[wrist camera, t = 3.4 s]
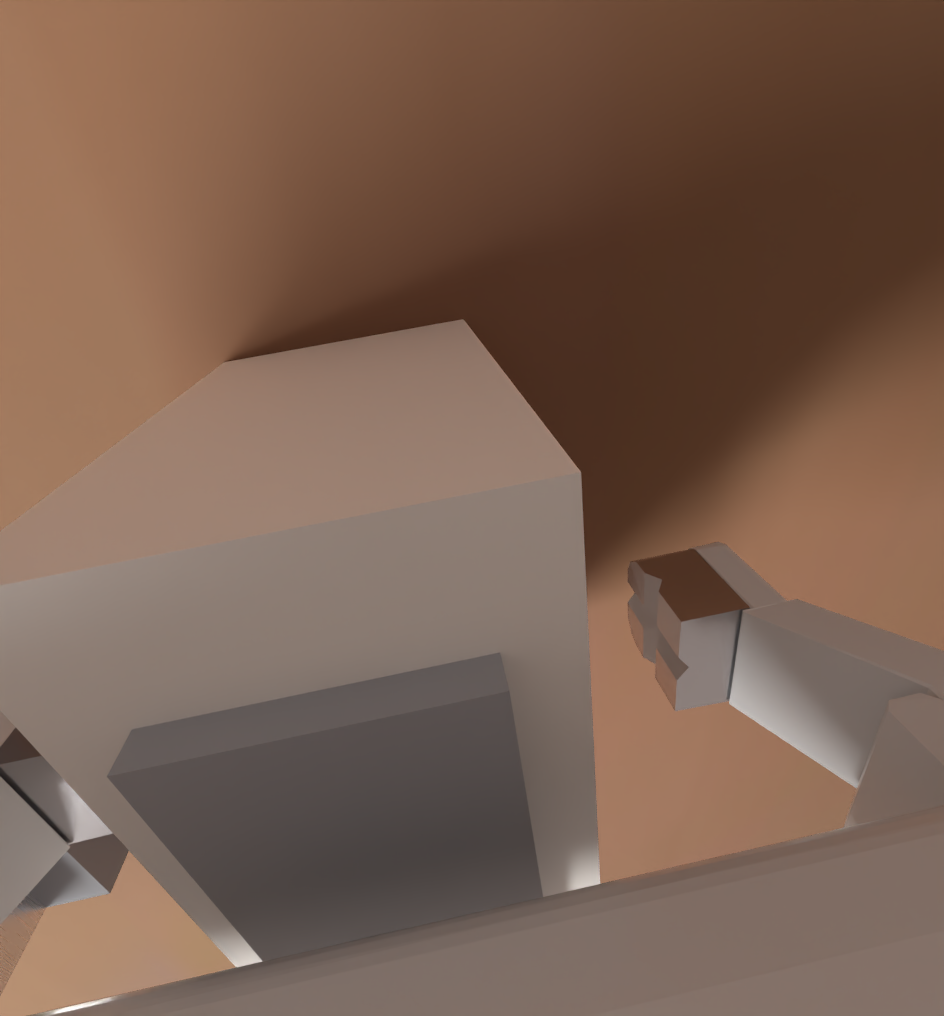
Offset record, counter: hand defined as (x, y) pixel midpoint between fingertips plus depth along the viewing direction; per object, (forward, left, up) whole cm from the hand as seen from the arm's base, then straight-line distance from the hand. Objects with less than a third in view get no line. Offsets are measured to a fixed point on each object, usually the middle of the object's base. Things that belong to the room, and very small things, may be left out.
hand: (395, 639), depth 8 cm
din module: (0, 0, -4) cm, 4 cm away
